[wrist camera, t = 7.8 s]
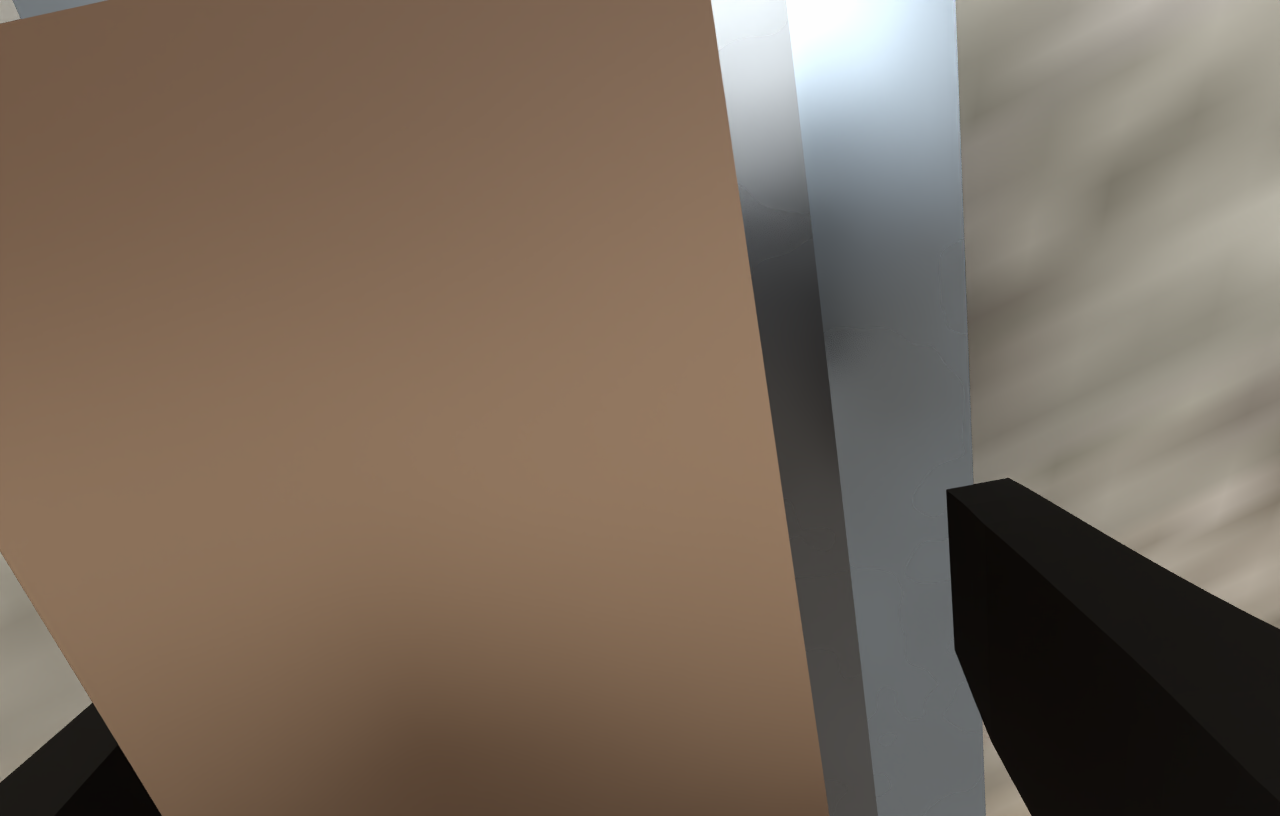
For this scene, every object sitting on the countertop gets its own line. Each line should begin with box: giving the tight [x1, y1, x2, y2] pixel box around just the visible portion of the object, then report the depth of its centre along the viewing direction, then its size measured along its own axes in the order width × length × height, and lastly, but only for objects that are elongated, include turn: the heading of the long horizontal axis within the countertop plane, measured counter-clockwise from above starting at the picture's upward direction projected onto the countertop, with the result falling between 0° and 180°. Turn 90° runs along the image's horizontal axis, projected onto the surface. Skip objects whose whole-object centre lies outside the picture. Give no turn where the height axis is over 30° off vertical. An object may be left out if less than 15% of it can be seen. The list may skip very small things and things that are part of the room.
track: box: [13, 0, 986, 816], centre depth 12 cm, size 20×10×3 cm, turn 11°
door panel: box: [0, 0, 829, 816], centre depth 9 cm, size 12×3×8 cm, turn 11°
